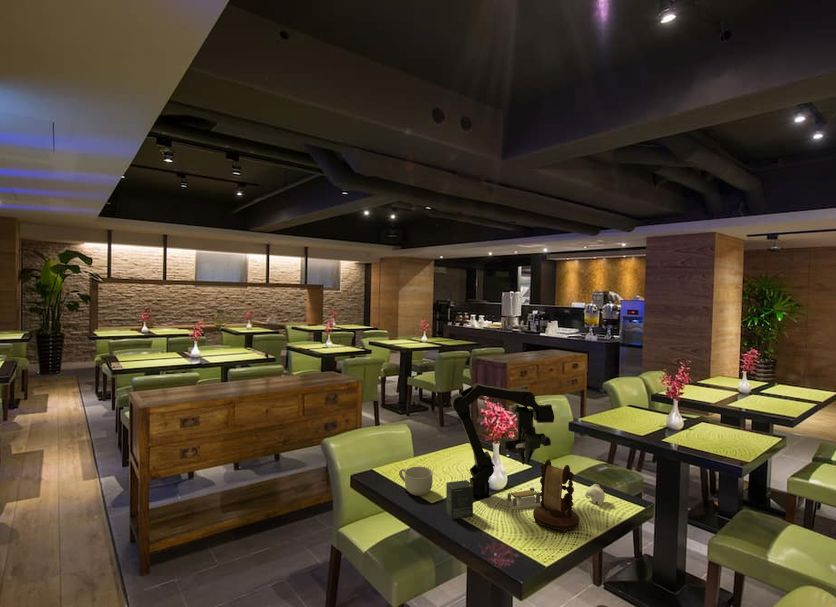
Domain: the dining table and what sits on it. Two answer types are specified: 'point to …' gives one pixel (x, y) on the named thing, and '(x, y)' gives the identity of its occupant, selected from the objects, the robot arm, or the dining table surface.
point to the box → (459, 499)
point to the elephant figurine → (595, 494)
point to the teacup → (417, 480)
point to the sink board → (524, 501)
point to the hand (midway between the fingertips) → (525, 464)
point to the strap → (523, 493)
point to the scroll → (556, 499)
